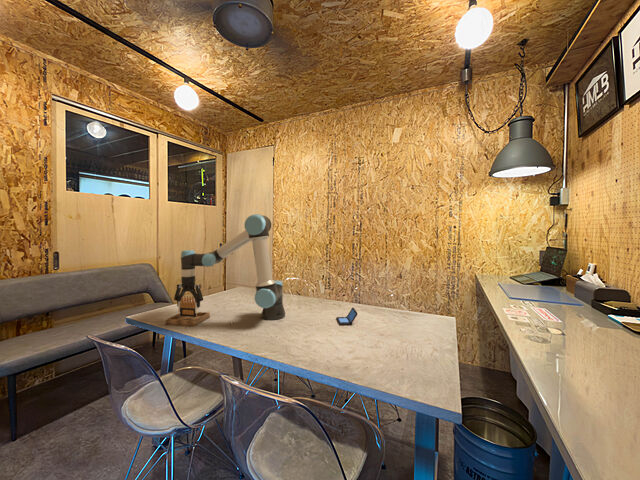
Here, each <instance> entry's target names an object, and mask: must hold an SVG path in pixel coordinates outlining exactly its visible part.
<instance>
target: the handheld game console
mask: <svg viewBox="0 0 640 480" xmlns="http://www.w3.org/2000/svg"><path fill="white" fill-rule="evenodd" d="M356 317H358V312H357V311H356V309H355V308H354V307H351V309H350V311H349V312H348V314H347V315H346V316H337V317H336V320H337V322H338V326H340V327H342V326H353V323H354V322H355V319H356Z"/></svg>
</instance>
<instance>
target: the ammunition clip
mask: <svg viewBox="0 0 640 480" xmlns="http://www.w3.org/2000/svg"><path fill="white" fill-rule="evenodd" d="M195 302H196V300H195V298H194V297H193V296H192V297H191V296H182V297H181V308H180V312H179V313H180V316H187V317H197V316H198V313H195Z"/></svg>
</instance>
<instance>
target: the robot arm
mask: <svg viewBox="0 0 640 480" xmlns="http://www.w3.org/2000/svg"><path fill="white" fill-rule="evenodd" d="M244 229H245V230H244V231H242V232H240V233H239V234H237V235H235V237H233V238H231V239H230V240H228V241H227V242H226V243H224V244H222V245H221V246H219V247H218V248H216V249H215V250H213V251H211V252H207V253H196V252H195V250H191V249H188V250H187V249H185V250H181V253H180V263H181V264H180V265H181V266H180V267H181V269H180V272H181V273H180V274H181V275H180V276H181V278H180V279H181V283H179V284H178V283H177V284H176V290H175V294H174V298H173V301H176V306H177V307H178V313H180V308H181V297H182V296H183V297H184V295H185V294H186V293H187V292H189V293H190V294H191V295H192V297H193V298H194V299H195V300H196V302H195V313H198V312H200V307H201V302H202V301H204V297H203V293H202V290H201V284H196V267H206V268H209V267H214V266H215V264H219V263H221V262H223V260H224V259H226V258H227V257H229V256H230V255H232V254H233V253H235V252H236V251H238V250H240V249H241V248H242V247H244V246H245V245H247V244H249V243H250V242H251V245H252V249H253V251H252V252H253V256H254V257H253V259H254V265H255V266H254V267H255V272H256V279H257V282H256V284H255V291H256V293H254V302H255V304H256V305H257V306H258V307H260V308H262V311H261V318H262V319H263V320H265V321H276V320H281V319H283V318H285V317H286V310H285V307H284V304H283V297H284V294H283V292H284V291H283V290H284V288H283V287H284V285H283V281H282V280H274V278H273V274H272V272H273V271H272V266H271V259H270V252H269V251H270V250H269V244H268V239H269V238H270V233H269V232H270V231H271V229H272V222H271V219H270V218H269V217H268V216H266V215H262V214H251V215H249V216H248V217H247V218H245V221H244Z"/></svg>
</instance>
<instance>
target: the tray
mask: <svg viewBox="0 0 640 480" xmlns="http://www.w3.org/2000/svg"><path fill="white" fill-rule="evenodd" d="M209 318H211V312H208V311H207V312H205V311H199V312H198V316H197V317H187V316H180V312H178V313H177V314H175V315H173V316H170V317H169V318H166V319H165V325H166V326H176V327H177V326H181V327H196V326H197V325H200V324H202V323H203V322H204V321H206V320H209Z"/></svg>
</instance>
